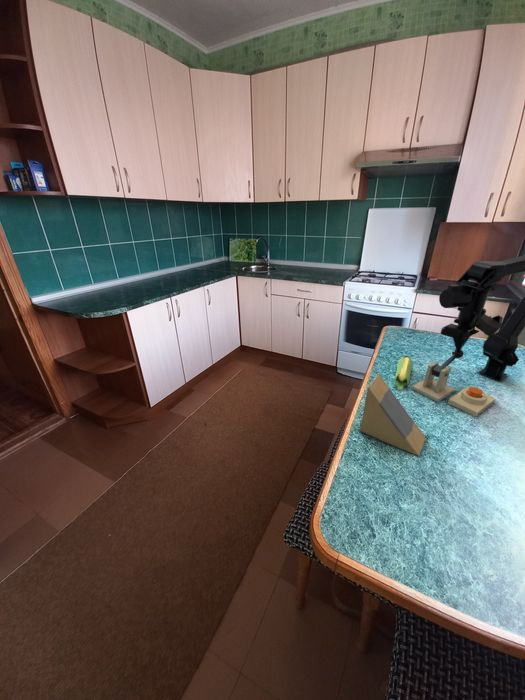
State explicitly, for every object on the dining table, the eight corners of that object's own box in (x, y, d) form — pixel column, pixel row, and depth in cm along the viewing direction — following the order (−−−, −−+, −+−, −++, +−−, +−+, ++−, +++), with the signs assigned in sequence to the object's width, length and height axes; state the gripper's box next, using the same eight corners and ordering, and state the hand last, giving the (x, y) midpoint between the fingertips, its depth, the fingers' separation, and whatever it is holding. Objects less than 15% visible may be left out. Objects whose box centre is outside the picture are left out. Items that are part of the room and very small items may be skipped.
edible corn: (412, 366, 112) (415, 355, 109) (407, 393, 96) (410, 381, 94) (398, 363, 114) (400, 352, 112) (391, 389, 98) (393, 377, 96)
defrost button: (470, 390, 92) (472, 385, 91) (483, 395, 89) (485, 391, 88) (464, 393, 90) (466, 389, 89) (477, 399, 87) (479, 395, 86)
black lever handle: (454, 352, 100) (456, 345, 98) (464, 356, 98) (466, 349, 96) (430, 374, 96) (431, 367, 94) (440, 379, 93) (441, 372, 91)
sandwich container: (419, 457, 72) (434, 409, 65) (359, 431, 81) (367, 386, 74) (426, 437, 78) (441, 391, 71) (370, 414, 87) (378, 372, 80)
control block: (466, 390, 97) (469, 381, 95) (493, 402, 91) (497, 393, 89) (447, 403, 91) (450, 394, 89) (475, 417, 85) (479, 407, 83)
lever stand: (427, 379, 103) (434, 356, 99) (454, 391, 96) (462, 367, 92) (411, 388, 98) (417, 365, 94) (437, 402, 92) (445, 377, 87)
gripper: (488, 319, 79) (470, 368, 86) (516, 305, 88) (498, 351, 95) (446, 308, 87) (433, 354, 94) (476, 297, 96) (462, 339, 103)
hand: (458, 349), depth 96 cm, fingers closed
